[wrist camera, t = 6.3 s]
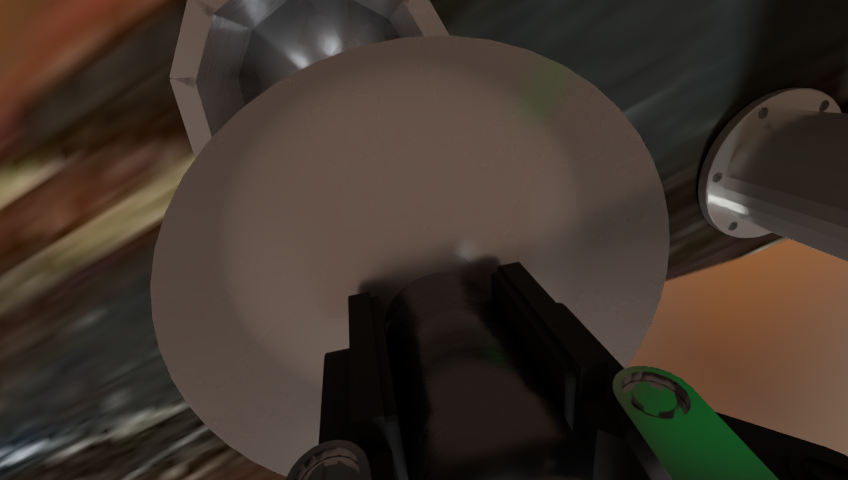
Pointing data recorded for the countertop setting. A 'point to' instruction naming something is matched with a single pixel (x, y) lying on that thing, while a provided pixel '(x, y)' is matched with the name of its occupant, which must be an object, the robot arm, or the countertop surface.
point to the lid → (408, 250)
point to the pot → (273, 48)
